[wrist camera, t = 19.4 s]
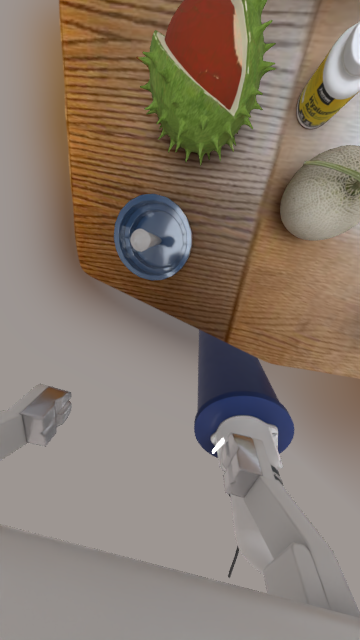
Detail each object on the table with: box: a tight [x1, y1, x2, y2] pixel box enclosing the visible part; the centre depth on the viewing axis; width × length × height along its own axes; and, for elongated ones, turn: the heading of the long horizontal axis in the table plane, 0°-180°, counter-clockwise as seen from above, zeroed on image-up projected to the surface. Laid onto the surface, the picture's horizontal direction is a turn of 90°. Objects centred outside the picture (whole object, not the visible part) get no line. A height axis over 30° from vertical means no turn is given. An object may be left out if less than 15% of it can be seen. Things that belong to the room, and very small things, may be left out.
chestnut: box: [136, 0, 276, 166], centre depth 22 cm, size 15×14×15 cm
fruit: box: [280, 145, 360, 240], centre depth 24 cm, size 10×12×15 cm
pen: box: [130, 229, 162, 252], centre depth 28 cm, size 2×3×14 cm
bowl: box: [114, 194, 193, 280], centre depth 32 cm, size 13×13×6 cm
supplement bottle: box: [297, 21, 360, 129], centre depth 22 cm, size 5×5×10 cm
